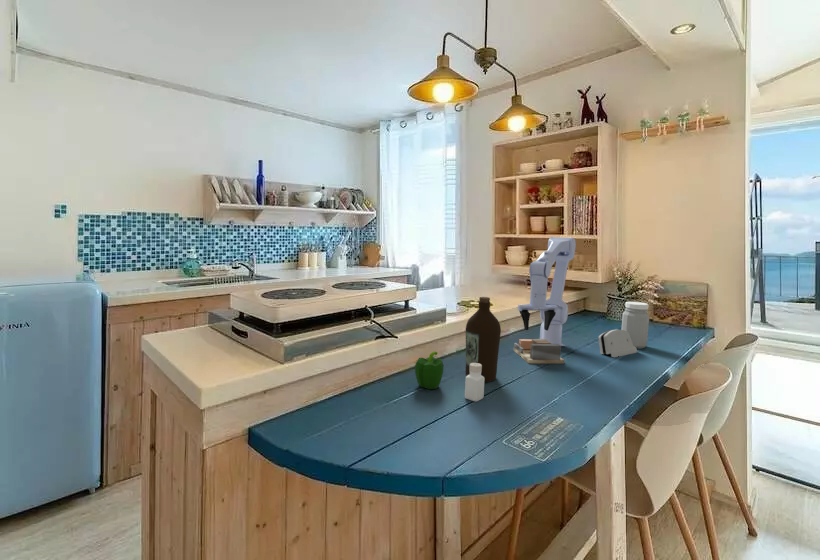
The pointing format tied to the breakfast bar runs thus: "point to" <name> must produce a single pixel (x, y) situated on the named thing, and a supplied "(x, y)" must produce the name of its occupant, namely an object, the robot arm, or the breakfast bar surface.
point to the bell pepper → (429, 371)
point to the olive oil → (483, 340)
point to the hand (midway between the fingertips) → (536, 329)
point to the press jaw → (525, 343)
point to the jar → (636, 323)
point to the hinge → (616, 343)
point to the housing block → (540, 341)
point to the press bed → (526, 357)
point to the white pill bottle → (474, 383)
